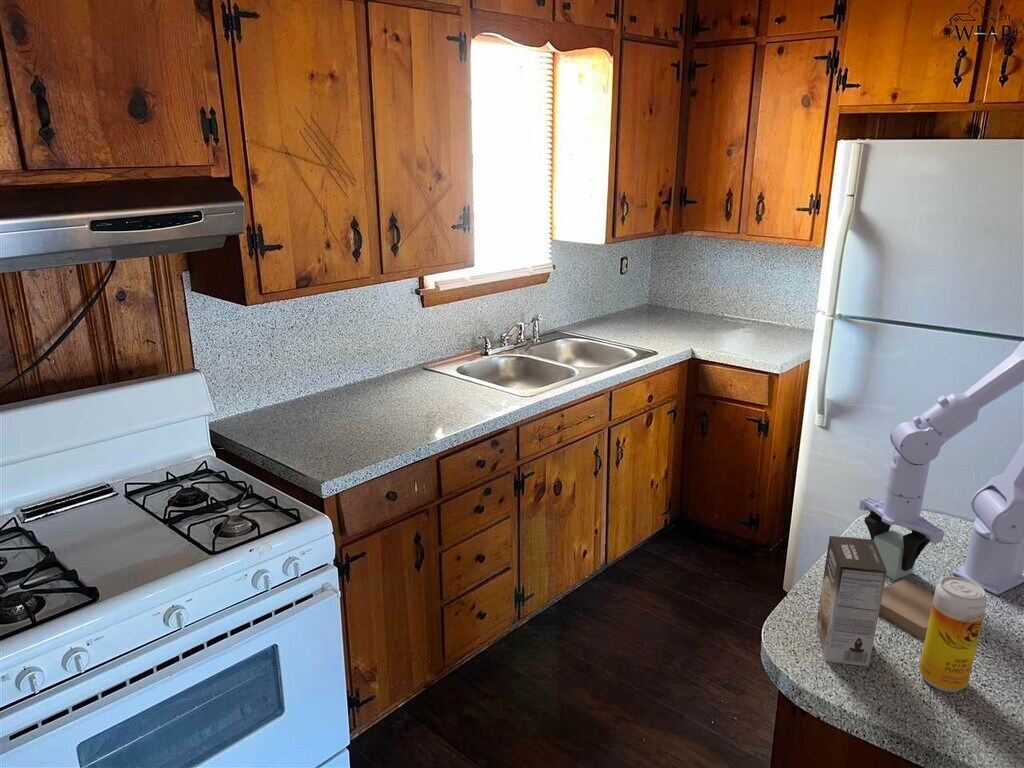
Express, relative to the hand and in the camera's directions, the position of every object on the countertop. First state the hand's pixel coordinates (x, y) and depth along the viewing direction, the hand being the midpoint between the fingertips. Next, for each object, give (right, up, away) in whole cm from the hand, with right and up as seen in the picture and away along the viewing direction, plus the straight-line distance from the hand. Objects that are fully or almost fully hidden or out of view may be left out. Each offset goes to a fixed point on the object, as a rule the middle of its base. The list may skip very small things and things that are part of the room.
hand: (892, 561), depth 135 cm
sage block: (0, -2, +1) cm, 2 cm away
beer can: (-6, -11, -27) cm, 30 cm away
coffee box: (-18, -8, -20) cm, 28 cm away
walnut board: (-3, -6, -12) cm, 14 cm away
